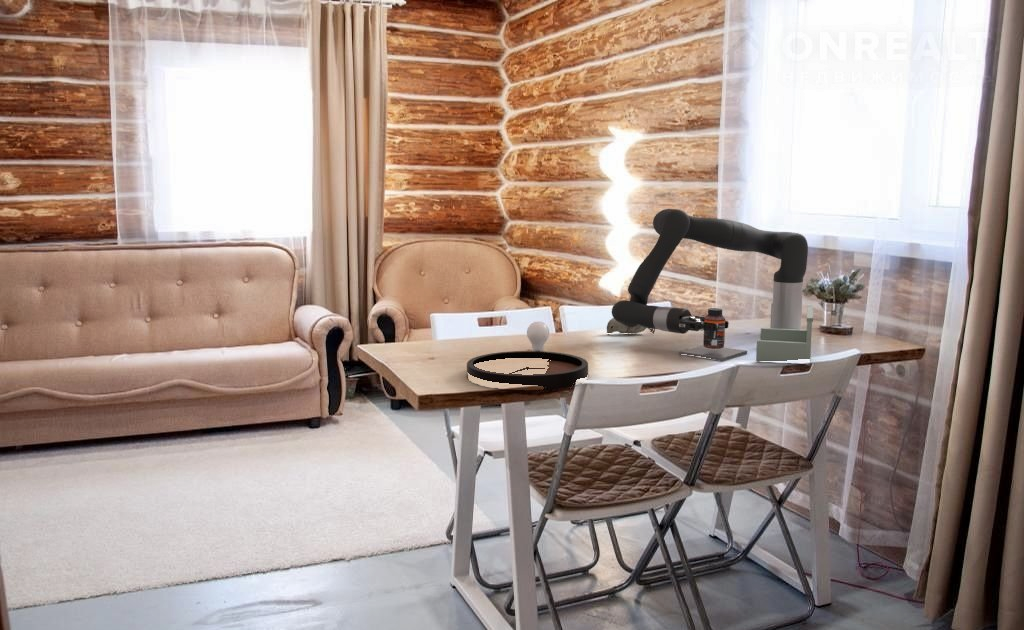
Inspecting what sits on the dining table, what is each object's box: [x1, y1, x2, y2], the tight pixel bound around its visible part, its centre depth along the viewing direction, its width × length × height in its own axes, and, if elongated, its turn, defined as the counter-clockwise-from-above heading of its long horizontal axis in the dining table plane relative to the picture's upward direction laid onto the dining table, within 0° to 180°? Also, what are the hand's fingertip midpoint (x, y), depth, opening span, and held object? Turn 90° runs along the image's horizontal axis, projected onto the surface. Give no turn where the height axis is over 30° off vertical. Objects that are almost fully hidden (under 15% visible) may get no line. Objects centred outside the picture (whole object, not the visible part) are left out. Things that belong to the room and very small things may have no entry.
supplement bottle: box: [702, 307, 726, 349], centre depth 248 cm, size 6×6×11 cm
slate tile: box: [679, 345, 748, 362], centre depth 249 cm, size 14×14×1 cm
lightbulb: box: [526, 321, 550, 351], centre depth 242 cm, size 6×6×11 cm
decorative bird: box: [606, 317, 656, 334], centre depth 282 cm, size 5×16×7 cm, turn 94°
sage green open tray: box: [755, 306, 814, 366], centre depth 245 cm, size 14×22×13 cm, turn 161°
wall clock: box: [466, 350, 589, 391], centre depth 222 cm, size 31×4×31 cm
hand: (722, 326), depth 246 cm, fingers closed on supplement bottle, 6 cm apart
